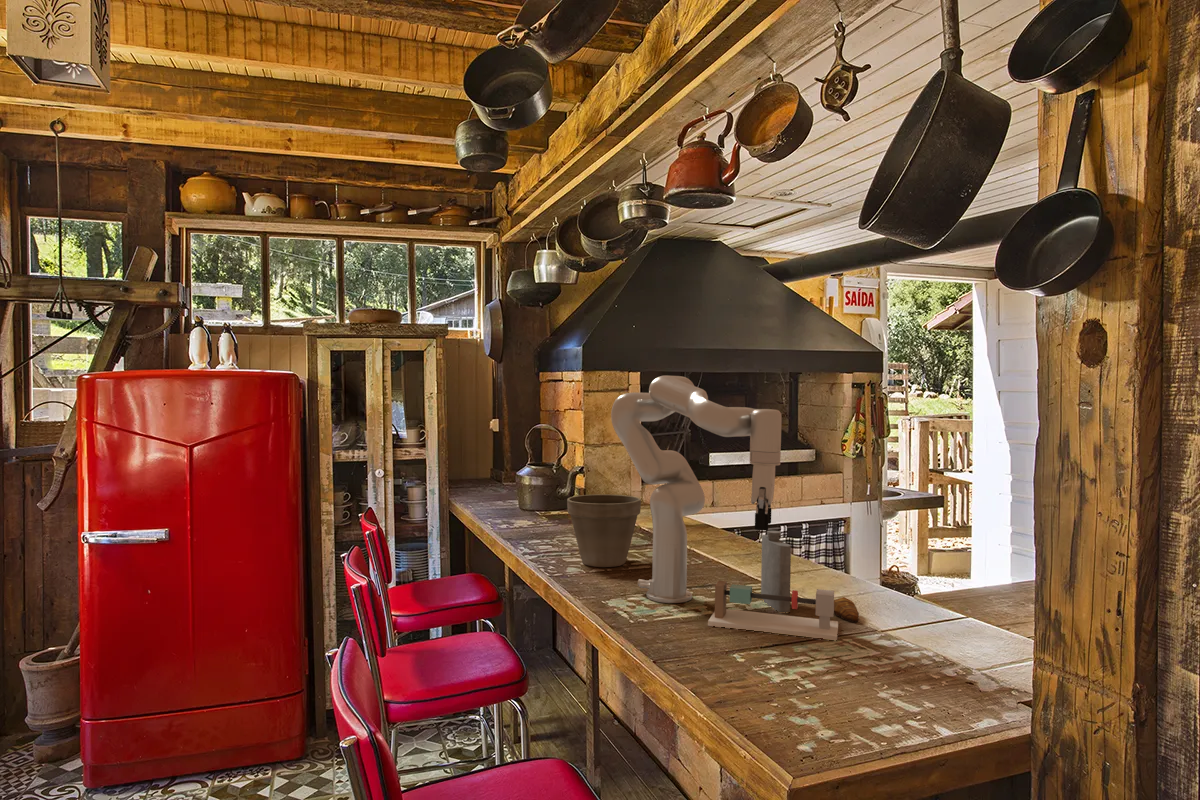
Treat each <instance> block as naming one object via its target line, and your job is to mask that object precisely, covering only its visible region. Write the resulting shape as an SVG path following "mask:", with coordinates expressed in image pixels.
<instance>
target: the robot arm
mask: <svg viewBox="0 0 1200 800" xmlns="http://www.w3.org/2000/svg"><path fill="white" fill-rule="evenodd" d="M674 413H678V414H680V415H682V416H685V417H687V418H689V419H690V421H692V422H693V424H695V425H696V426H698V427H700V428H701V429H703V430H705V431H707V432H710V433H712V434H715V435H717V436H720V437H724V438H732V437H733V438H734V437H749V438H750V440H749V465H750V464H751V465H753V467H752V481H751V495H750V496H751V497H750V499H751V500H750V503H751V504H752V505H755V504H756V506H755V513H754V529H755V530H756V531H766V532H767V531H769V525H770V524H771V523H772V503H773V501H774V497H775V496H774V495H775V484H776V466H780V465H781V454H782V452H781V449H782V447H781V446H782V445H781V444H782V413H781V412H780V410H778V409H773V408H772V409H770V408H752V407H745V406H743V407H741V406H729V407H728V406H724V405H721V404H720V403H716V402H714V401H711V400H709V396H708V394H707V391H706V390H704V389H703V388H700V387H698V386H695V385H694V383H693V381H692V380H690V379H689V378H688V377H685V376H680V375H661V376H658V377H656V378H654V379H653V380H652V381H651V383H650V384H649V388H648V392H634V391H633V392H626V393H622V394H621V395H619V396H617V398H615V400H614V402H613V404H612V408H611V413H610V417H611V418H610V419H611V424H612V428H613V431H614V432H615V434H616V435H617V437H618V438H619V441H620V442H621V443H622V445H623V446H624V448H625V450H626V452H627V453H628V456H629V458H630V459H631V462H632V463H633V466H634V467H635V470H636V471H637V473H638V474H639V477H640V479H641V480H642V481H643V483H646V484H647V485H659V486H657V487H656V488H655V489H653V491H652V493H651V495H650V497H649V508H650V513H651V521H652V566H651V567H652V568H651V569H652V570H651V571H652V573H651V574H652V576H651V579H649V580H647V579H646V580H645V579H640V578H639V579H638V580H637V587H639V588H641V589H647V591H646V595H645V596H646V598H647V599H649V600H651V601H654V602H659V603H666V604H679V603H686V602H689V601H691V600H692V598H693V594H692V592H691V591H689V590H687V582H688V581H687V578H688V577H687V574H688V573H687V572H688V568H687V567H688V563H687V562H688V532H687V527H686V524H685V521H684V518H683V517H686V516H692V515H696V514H698V513H699V512H701V511H702V509H703V508H704V507H705V501H706V497H705V492H704V490H703V489H704V488H703V487H702V486H701V484H700V482H699V480H698V478H697V476H696V475H695V472H694V471H693V469H692V467H691V466H690V464H689V463H688V461H687V459H686V457H684V456H683V455H682V454H681V453H680V452H678V451H676V450H671V449H667V450H666V449H665V450H663V449H660V447H659V445H658V444H657V442H656V441H655V439H654V437H653V435H652V434H651V432H650V431H649V430H648V429H647V428H646V427H644V426H643V424H641V422H657V421H660V420H664V419H665V418H666V417H668V416H670V415H672V414H674Z"/></svg>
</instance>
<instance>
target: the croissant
mask: <svg viewBox="0 0 1200 800" xmlns="http://www.w3.org/2000/svg"><path fill="white" fill-rule="evenodd" d="M833 615H834V616H837V617H839V618H842V619H843V620H845V621H848V622H852V623H858V621H859V617H860V613H859V611H858V609H857V607H856V604H855V603H854V602H853V601H852V600H851V599H849V598H847V597H845V596H843V597H840V598H834V614H833Z"/></svg>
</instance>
